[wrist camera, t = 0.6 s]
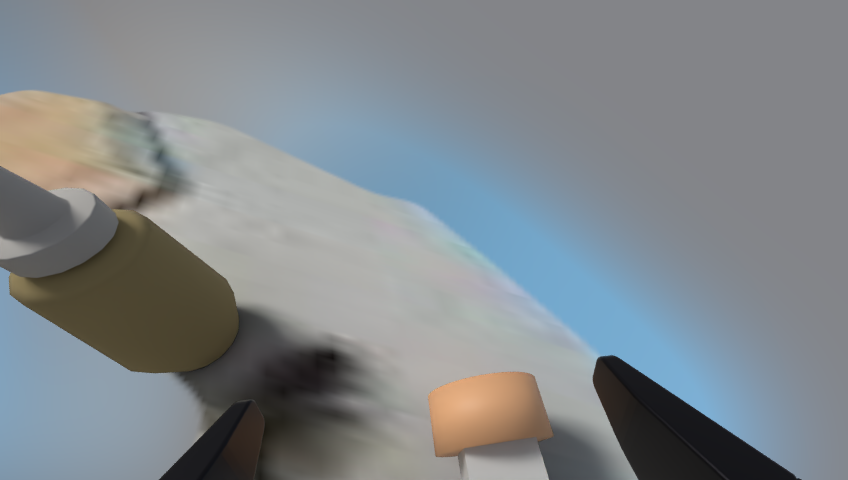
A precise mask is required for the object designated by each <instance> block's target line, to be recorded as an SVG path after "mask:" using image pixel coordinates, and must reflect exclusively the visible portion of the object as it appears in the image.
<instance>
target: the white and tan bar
mask: <svg viewBox="0 0 848 480" xmlns="http://www.w3.org/2000/svg"><path fill="white" fill-rule="evenodd" d="M428 400H429V408H430V416H431V423H432V431H433V439H434V447H435V455H436V457H452V456H458V459H459V465H460V471H461V477H462V480H549V478H548V474H547V471H546V468H545V464H544V461H543V458H542V454H541V451H540V448H539V444H538V442H539V441H542V440H546V439H549V438H551V437H553V436H554V435H553V431H552V428H551V425H550V422H549V419H548V416H547V413H546V410H545V407H544V404H543V401H542V398H541V395H540V392H539V389H538V386H537V383H536V380H535V377H534V376H533V375H532V374H529V373H524V372H501V373H492V374H485V375H479V376H474V377H470V378H465V379H462V380H458V381H455V382H452V383H449V384H446V385H444V386H441V387H439V388H437V389H435V390H434V391H432V392H431V393H430V394H429V396H428Z"/></svg>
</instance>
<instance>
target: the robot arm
mask: <svg viewBox="0 0 848 480" xmlns="http://www.w3.org/2000/svg"><path fill="white" fill-rule="evenodd" d="M593 384H594V387H595V389H596V392H597V394H598V396H599V399H600V401H601V403H602V405H603V408H604V410H605V412H606V415H607V417H608V419H609V422H610V424H611V426H612V428H613V431H614V433H615V435H616V438H617V440H618V442H619V444H620V446H621V448H622V450H623V452H624V454H625V456H626V458H627V460H628V461H629V463H630V465H631V467H632V469H633V471H634V472H635V474H636V476H637V478H638V480H801V479H799V478H796V477H795V475H794V474H792V473H791V472H789V471H788V470H786V469H785V468H783V467H782V466H780V465H779V464H777V463H776V462H774V461H772V460H771V459H770V458H768V457H767V456H765V455H763V454H762V453H761V452H759V451H758V450H756V449H755V448H753V447H752V446H750V445H749V444H747V443H746V442H744V441H743V440H741V439H740V438H738V437H737V436H735V435H733V434H732V433H731V432H729V431H728V430H726V429H725V428H723V427H722V426H720V425H719V424H717V423H716V422H714V421H713V420H711V419H710V418H708V417H706V416H705V415H704V414H702V413H701V412H699V411H698V410H696V409H695V408H693V407H692V406H690V405H689V404H687V403H686V402H684V401H683V400H681V399H680V398H678V397H677V396H675V395H674V394H672V393H671V392H669V391H668V390H666V389H665V388H663V387H662V386H660V385H659V384H657V383H656V382H654V381H653V380H651V379H650V378H648V377H647V376H645V375H644V374H642V373H641V372H639V371H638V370H636V369H635V368H633V367H632V366H630V365H629V364H627V363H626V362H624V361H623V360H621V359H620V358H618V357H616V356H613V355H610V356H602V357H599V358H598V359H597V361H596V366H595V370H594V374H593ZM264 427H265V421H264V417H263V415H262V413H261V411H260V409H259V407H258V406H257V404H256V402H255V401H254V400H252V399H250V400H241V401H237V402H235V403H234V404H233V405H232V406H231V407H230V408H229V409H228V410H227V411H226V412H225V413H224V414H223V415H222V416H221V417H220V418H219V419H218V420H217V421H216V422H215V423H214V424H213V425H212V426H211V427H210V428H209V429H208V430H207V431H206V432H205V433H204V434H203V435H202V436H201V437H200V438H199V439H198V440H197V441H196V442H195V443H194V445H193V446H192V447H191V448H190V449H189V450H188V451H187V452H186V453H185V454H184V455H183V456H182V457H181V458H180V459H179V460H178V461H177V462H176V463H175V464H174V465H173V466H172V467H171V468H170V469H169V470H168V471H167V472H166V473H165V474H164V475H163V476H162V477H161V478H160V479H159V480H254V475H255V470H256V466H257V461H258V456H259V451H260V447H261V442H262V437H263V432H264Z"/></svg>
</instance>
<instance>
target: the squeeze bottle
mask: <svg viewBox="0 0 848 480" xmlns="http://www.w3.org/2000/svg"><path fill="white" fill-rule="evenodd" d="M0 267H2V268H4V269H6V270H8V271H9V272H11V273H10V276H9V287H10V288H9V289H10V295H11V296H13V297H14V298H15V299H16V300H18V301H19V302H20V303H22V304H23V305H24V306H26V307H27V308H29V309H31V310H33V311H34V312H36V313H37V314H39V315H41V316H42V317H44V318H46V319H47V320H49V321H50V322H52V323H54V324H55V325H57V326H58V327H60V328H62V329H63V330H65V331H67V332H68V333H70V334H72V335H73V336H75V337H76V338H78V339H80V340H81V341H83V342H85V343H86V344H88V345H89V346H91V347H93V348H94V349H96V350H98V351H99V352H101V353H103V354H104V355H106V356H107V357H109V358H111V359H112V360H114V361H115V362H117V363H119V364H120V365H122V366H124V367H125V368H127V369H128V370H130V371H135V372H146V373H167V372H186V371H192V370H196V369H199V368H202V367H206V366H207V365H209V364H210V363H212V362H214V361H215V360H217V359H218V358H220V357H221V356H222V355H223V354H224V353H225V352H226V350H227V349H228V348H229V347H230V346H231V345H232V343H233V341H234V339H235V337H236V335H237V332H238V330H239V316H238V311H237V307H236V302H235V297H234V293H233V291H232V289H231V287H230V285H229V283H228V282H227V280H226V279H225V278H224V277H223V276H221V275H220V274H219V273H217V272H216V271H215V270H214V269H212V268H211V267H210V266H208V265H207V264H206V263H205V262H203V261H202V260H201V259H200V258H198V257H197V256H196V255H194V254H193V253H192V252H191V251H189V250H188V249H187V248H185V247H184V246H183V245H182V244H180V243H179V242H178V241H177V240H175V239H174V238H173V237H171V236H170V235H169V234H168V233H166V232H165V231H164V230H163V229H161V228H160V227H159V226H157V225H156V224H155V223H154V222H152V221H151V220H150V219H148V218H147V217H145V216H143V215H141V214H139V213H138V212H136V211H134V210H118V209H110V208H109V207H108V206H107V205H106V204H105V203H104V202H102V201H101V200H100V199H99V198H98V197H97V196H96V195H95V194H93V193H91V192H89V191H87V190H85V189H79V188H61V189H56V190H50V191H47V190H45V189H43V188H41V187H39V186H37V185H35V184H33V183H31V182H30V181H28V180H26V179H24V178H22V177H20V176H18V175H16V174H14V173H12V172H10V171H9V170H7V169H5V168H3V167H1V166H0Z"/></svg>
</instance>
